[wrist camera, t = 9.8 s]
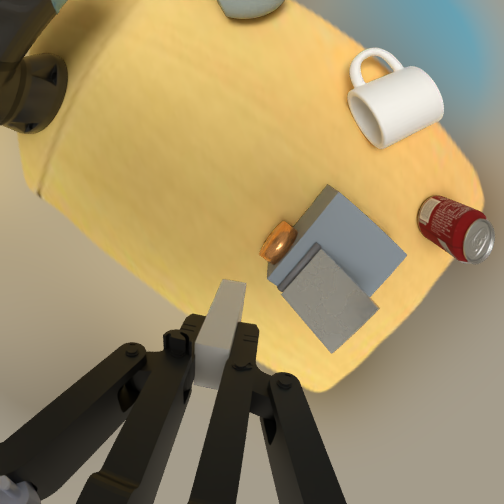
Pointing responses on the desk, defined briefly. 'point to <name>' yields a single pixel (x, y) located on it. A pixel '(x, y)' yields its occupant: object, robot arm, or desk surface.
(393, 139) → the mug
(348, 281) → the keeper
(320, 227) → the grey box with lid
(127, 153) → the desk surface
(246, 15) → the air freshener
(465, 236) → the soda can
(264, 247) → the pin
